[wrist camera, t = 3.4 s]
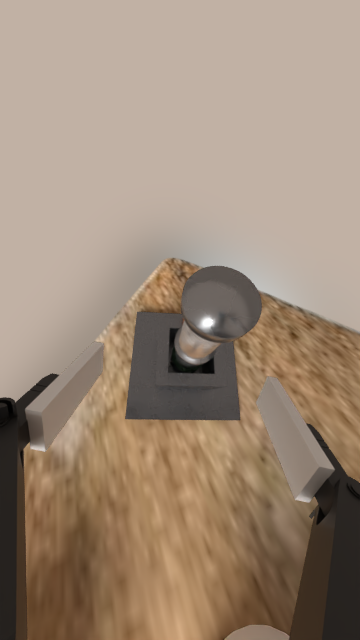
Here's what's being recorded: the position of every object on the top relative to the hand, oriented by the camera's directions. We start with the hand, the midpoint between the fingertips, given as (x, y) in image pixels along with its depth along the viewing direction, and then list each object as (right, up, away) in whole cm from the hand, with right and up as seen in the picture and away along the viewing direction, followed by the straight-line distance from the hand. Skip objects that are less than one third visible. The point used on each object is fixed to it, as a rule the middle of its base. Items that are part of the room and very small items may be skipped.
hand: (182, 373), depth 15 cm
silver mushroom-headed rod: (+1, -3, +18) cm, 18 cm away
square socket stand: (0, -4, +19) cm, 20 cm away
